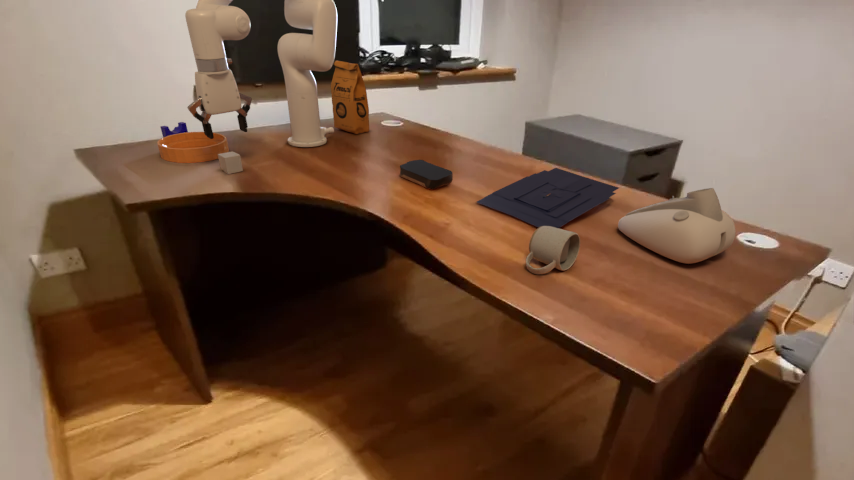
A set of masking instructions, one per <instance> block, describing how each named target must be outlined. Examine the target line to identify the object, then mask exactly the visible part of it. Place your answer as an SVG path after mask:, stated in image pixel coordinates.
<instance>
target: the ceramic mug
mask: <svg viewBox="0 0 854 480" xmlns="http://www.w3.org/2000/svg"><path fill="white" fill-rule="evenodd" d="M580 248H581V237H580V235H579V234H578V233H577V232H575V231H571V230H566V229H562V228H555V227H551V226H541V227H537V228H536V229H535V230H534V232H533V233H532V235H531V237H530V239H529V243H528V251H529V253H528V255H527V256H526V259H525V265H526V269H527V270H528V271H529V272H530V273H531V274H534V275H544V274H547V273H549V272H551V271H552V270H553V269H557V270H559V271H563V272H565V271H568V270H569V269H570V268H571V267H572V266H573V265H574V263H575V262H576V260H577V258H578V255H579V252H580ZM533 259H534V260H536V261H538V262H540V263H541V264H542V263H543V264H545V266H542V267H538V268H537V267H533V266H532V265H531V264H530V263H531V261H532V260H533Z"/></svg>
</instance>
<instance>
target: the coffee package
mask: <svg viewBox="0 0 854 480" xmlns="http://www.w3.org/2000/svg"><path fill="white" fill-rule="evenodd" d="M333 65H334V68H335V69H334V72H333V74H332V80H331V82H330V93H331V104H332V116H333V124H334V125H333V128H336V129H338V130H342V131H345V132H347V133H350V134H351V133H352V134H354V135H358V134H363V133H368V132H370V108H369V101H368V100H369V99H368V95H367V87H366V86H365V85H366V84H365V80H364V78H363V75H362V72H361V69H360V66H359V64H358V63H351V62H347V61H341V60H334V63H333Z"/></svg>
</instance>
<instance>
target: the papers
mask: <svg viewBox="0 0 854 480" xmlns="http://www.w3.org/2000/svg"><path fill="white" fill-rule="evenodd" d="M618 189H620V187H618V186H616V185H613V184H609V183H606V182H602V181H599V180H595V179H592V178H589V177H585V176H582V175H579V174H576V173H574V172H571V171H568V170H564V169H561V168H558V167H554V168H552V169H550V170H546V169H544V170H542V171H539V172H537V173H536V172H535V173H532V174H530V175H529V176H525V177H523V178H520V179H518V180H516V181H514V182H512V183H510V184H508V185H506V186H504V187H501V188H499V189H497V190H495V191H493V192H491V193H490V194H488V195H486V196H484V197H483V198H481V199H479V200H477V201H476V203H477V204H479V205H482V206H485V207H487V208H490V209H494V210H495V211H498V212H501V213H504V214H506V215H509V216H511V217H514V218H516V219H518V220H521V221H523V222H525V223H527V224H530V225H532V226H534V227H537V228H539V227H541V226H551V227H555V228H559V229H561V227H563V226H565V225H566V224H568V223H570V222H571V221H573V220H574V219H576V218H578V217H580V216H582V215H583V214H585V213H587V212H588V211H590V210H592V209H593V208H595V207H597V206H599V205H601V204H603V203H605V202H607V201H608V200H609V199H611V197H612V196H615V195H616V194H617V193H616V192H615V191H617V190H618Z"/></svg>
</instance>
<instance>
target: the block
mask: <svg viewBox="0 0 854 480" xmlns="http://www.w3.org/2000/svg"><path fill="white" fill-rule="evenodd" d="M218 163H219V167H220V169H221V170H222V172H223V173H225V174H227V175H230V174H231V175H232V174H236V173H240V172H243V171H244V169H243V163H242V157H241V155H240V154H239V153H237V152H235V151H229V152H227V153H221V154H218Z"/></svg>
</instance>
